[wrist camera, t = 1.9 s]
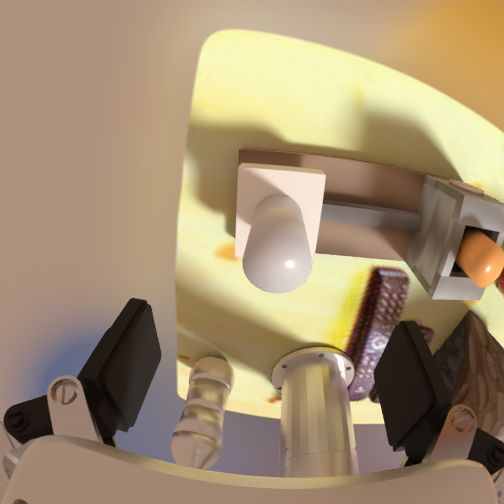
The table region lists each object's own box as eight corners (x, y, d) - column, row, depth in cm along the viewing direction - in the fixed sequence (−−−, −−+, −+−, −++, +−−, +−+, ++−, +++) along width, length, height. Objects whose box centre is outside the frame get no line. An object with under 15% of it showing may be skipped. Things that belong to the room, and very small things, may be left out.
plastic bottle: (186, 355, 40) (146, 471, 22) (224, 346, 38) (194, 476, 21) (207, 380, 43) (179, 489, 25) (244, 373, 41) (225, 493, 23)
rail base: (444, 259, 29) (480, 300, 21) (237, 240, 31) (223, 285, 23) (465, 180, 25) (513, 204, 17) (241, 144, 26) (225, 154, 18)
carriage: (309, 246, 28) (324, 321, 18) (240, 240, 29) (217, 312, 18) (319, 167, 25) (349, 203, 14) (243, 161, 25) (217, 191, 15)
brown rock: (494, 334, 34) (540, 414, 17) (446, 378, 40) (477, 463, 22) (471, 307, 32) (532, 404, 14) (415, 360, 37) (451, 464, 20)
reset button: (474, 266, 21) (494, 287, 18) (447, 264, 22) (467, 286, 18) (486, 230, 20) (510, 248, 16) (459, 224, 20) (483, 243, 16)
